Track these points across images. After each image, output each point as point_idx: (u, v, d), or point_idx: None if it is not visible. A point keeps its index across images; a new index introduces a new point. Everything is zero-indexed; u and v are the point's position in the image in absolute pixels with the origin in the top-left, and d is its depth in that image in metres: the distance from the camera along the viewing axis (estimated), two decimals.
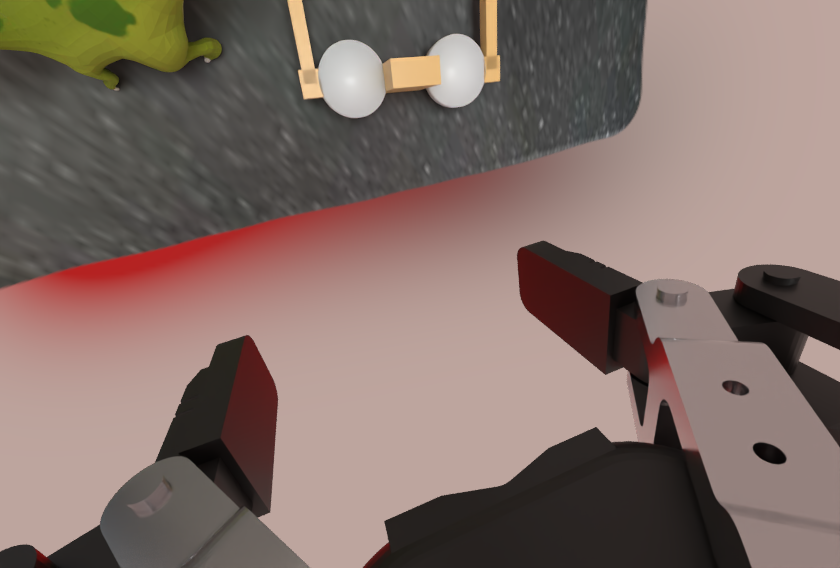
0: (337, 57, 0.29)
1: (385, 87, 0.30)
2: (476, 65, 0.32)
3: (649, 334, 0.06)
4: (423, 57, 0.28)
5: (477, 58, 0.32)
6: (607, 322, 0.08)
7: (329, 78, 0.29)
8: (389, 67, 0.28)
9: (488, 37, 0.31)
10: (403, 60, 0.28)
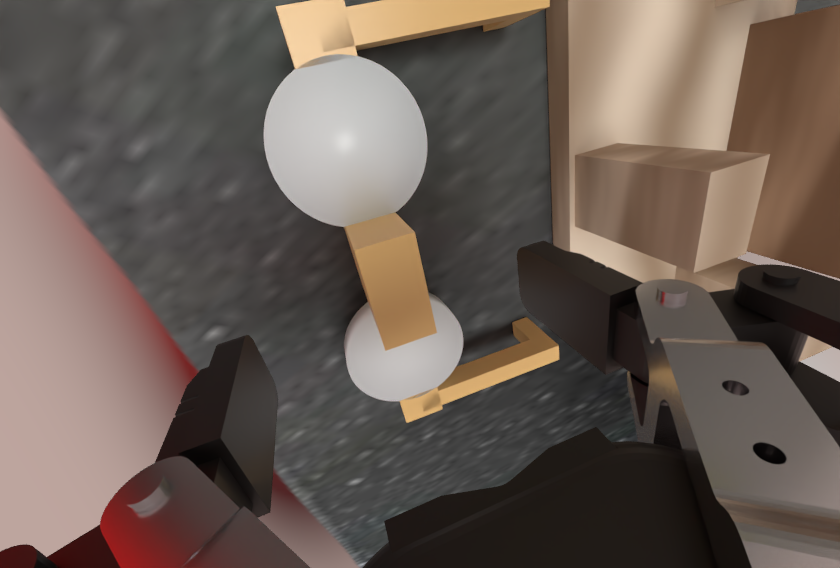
0: (389, 107, 0.12)
1: (352, 225, 0.13)
2: (422, 380, 0.18)
3: (649, 334, 0.06)
4: (428, 303, 0.13)
5: (433, 378, 0.18)
6: (607, 322, 0.08)
7: (341, 86, 0.12)
8: (395, 232, 0.12)
9: (464, 383, 0.19)
10: (416, 261, 0.12)
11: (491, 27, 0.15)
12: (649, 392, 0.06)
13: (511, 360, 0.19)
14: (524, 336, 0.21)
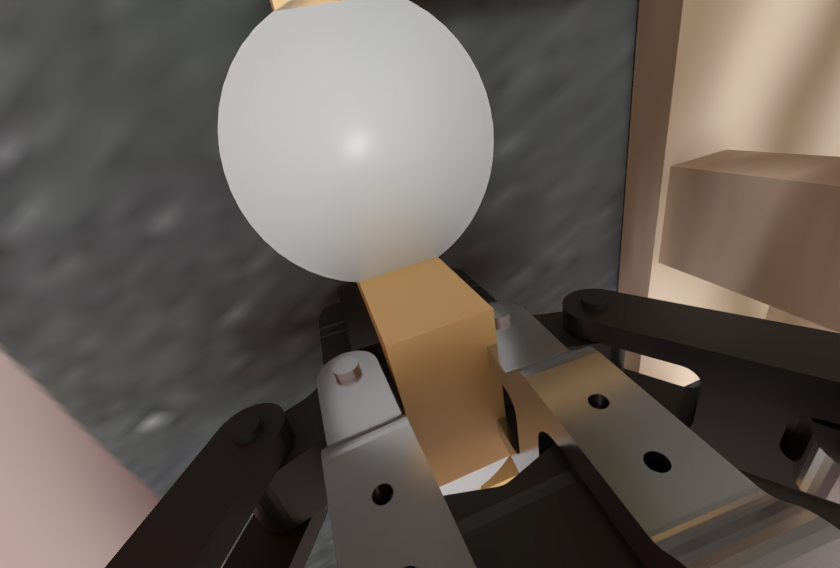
0: (438, 87, 0.07)
1: (371, 279, 0.08)
2: (461, 481, 0.13)
3: (501, 365, 0.06)
4: (502, 415, 0.08)
5: (476, 477, 0.13)
6: None
7: (359, 46, 0.07)
8: (454, 304, 0.07)
9: None
10: None
11: None
12: (519, 422, 0.06)
13: None
14: None
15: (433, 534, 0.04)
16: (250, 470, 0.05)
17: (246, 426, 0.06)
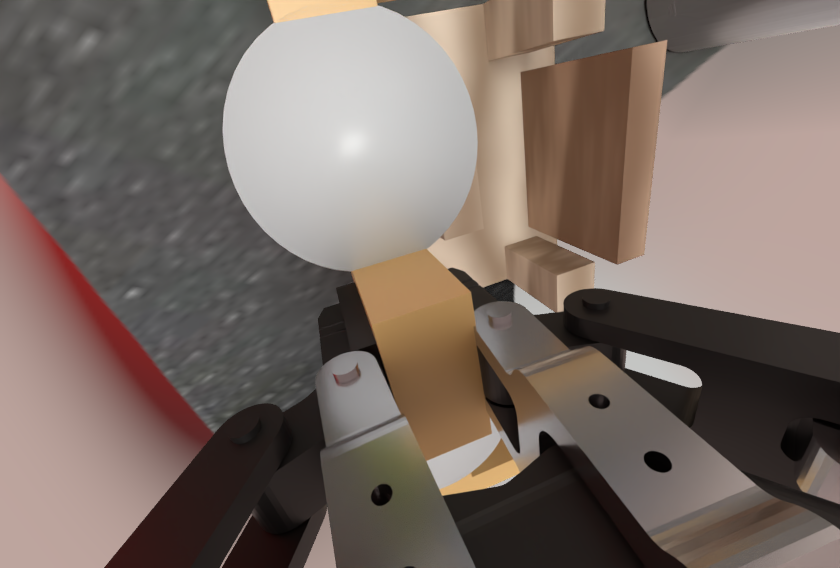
0: (424, 90, 0.08)
1: (363, 269, 0.09)
2: (452, 466, 0.13)
3: (502, 364, 0.06)
4: (483, 394, 0.08)
5: (466, 462, 0.13)
6: None
7: (351, 54, 0.07)
8: (436, 288, 0.07)
9: (506, 465, 0.14)
10: (470, 337, 0.07)
11: None
12: (519, 421, 0.06)
13: None
14: None
15: (432, 534, 0.04)
16: (248, 471, 0.05)
17: (244, 427, 0.06)
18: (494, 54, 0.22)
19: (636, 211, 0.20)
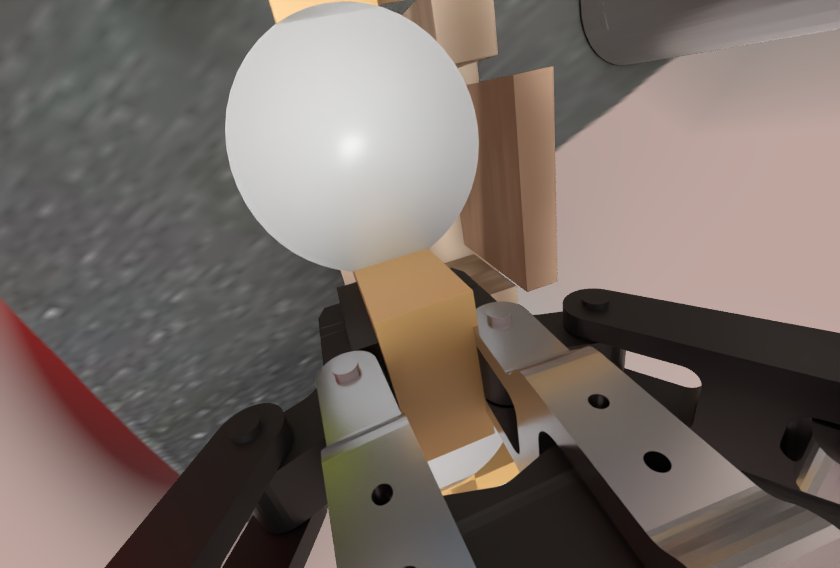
0: (425, 90, 0.08)
1: (365, 268, 0.09)
2: (455, 467, 0.13)
3: (501, 365, 0.06)
4: None
5: (469, 464, 0.13)
6: None
7: (352, 55, 0.07)
8: (438, 287, 0.07)
9: (509, 466, 0.14)
10: (472, 335, 0.07)
11: None
12: (519, 421, 0.06)
13: None
14: None
15: (433, 534, 0.04)
16: (250, 470, 0.05)
17: (245, 426, 0.06)
18: None
19: (542, 238, 0.19)
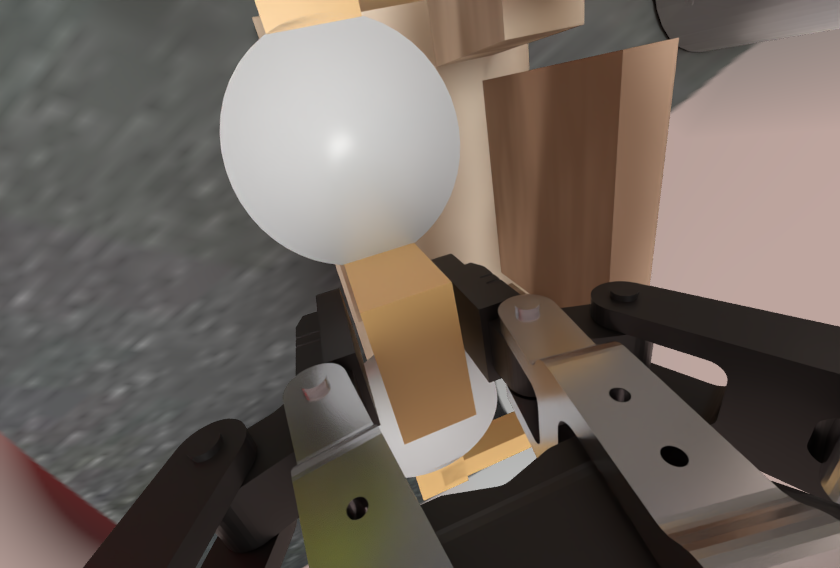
0: (408, 94, 0.08)
1: (354, 262, 0.09)
2: (444, 449, 0.14)
3: (526, 355, 0.06)
4: (466, 377, 0.09)
5: (458, 446, 0.14)
6: (481, 334, 0.08)
7: (338, 61, 0.08)
8: (420, 279, 0.08)
9: (496, 449, 0.15)
10: (452, 324, 0.08)
11: None
12: (540, 412, 0.06)
13: None
14: None
15: (411, 543, 0.04)
16: (205, 491, 0.05)
17: (205, 444, 0.06)
18: (442, 57, 0.16)
19: (632, 281, 0.14)
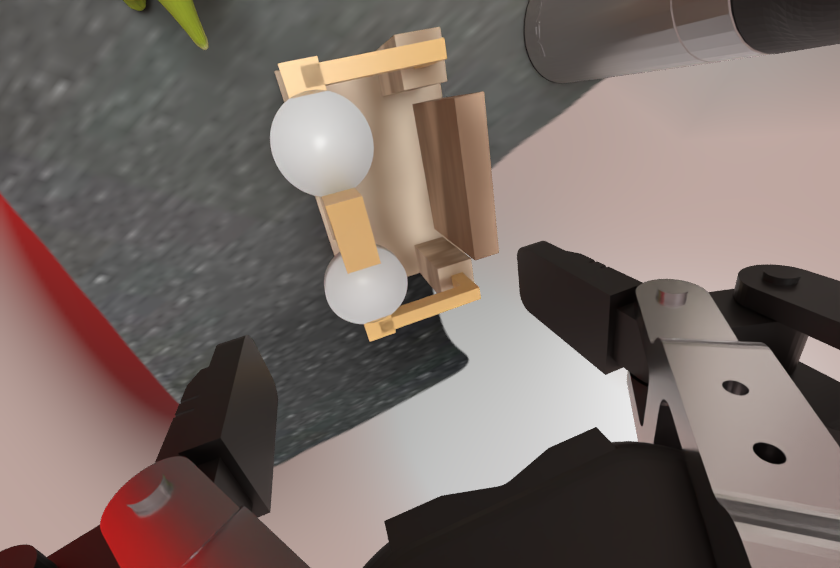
0: (347, 120, 0.20)
1: (326, 195, 0.21)
2: (379, 308, 0.25)
3: (649, 334, 0.06)
4: (373, 242, 0.20)
5: (387, 308, 0.25)
6: (607, 322, 0.08)
7: (317, 108, 0.19)
8: (351, 196, 0.19)
9: (410, 313, 0.26)
10: (364, 215, 0.19)
11: (417, 67, 0.22)
12: (649, 392, 0.06)
13: (445, 297, 0.27)
14: (458, 284, 0.29)
15: None
16: None
17: None
18: (384, 91, 0.28)
19: (484, 218, 0.26)
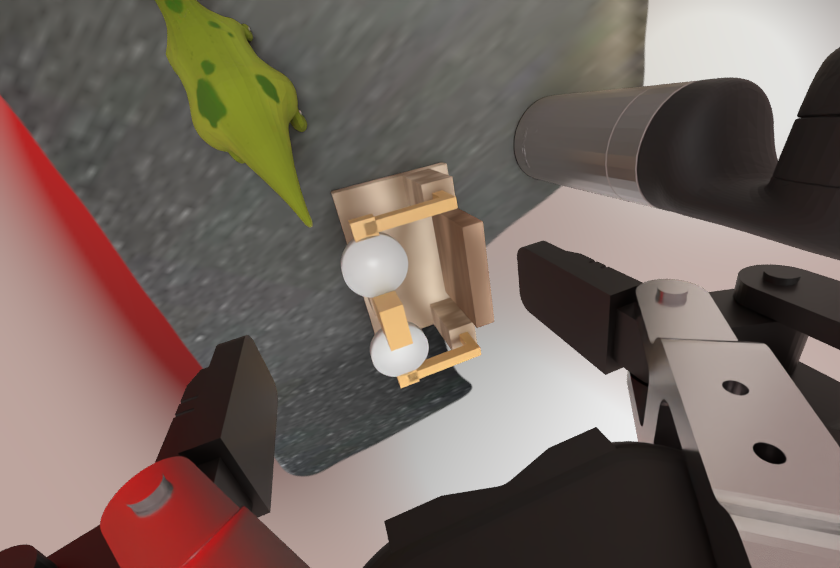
0: (392, 251, 0.30)
1: (376, 297, 0.31)
2: (408, 365, 0.35)
3: (649, 334, 0.06)
4: (408, 331, 0.30)
5: (414, 365, 0.35)
6: (607, 322, 0.08)
7: (373, 246, 0.29)
8: (395, 303, 0.29)
9: (430, 367, 0.36)
10: (403, 315, 0.30)
11: None
12: (649, 392, 0.06)
13: (455, 355, 0.37)
14: (464, 342, 0.39)
15: None
16: None
17: None
18: (410, 202, 0.38)
19: (483, 300, 0.36)
